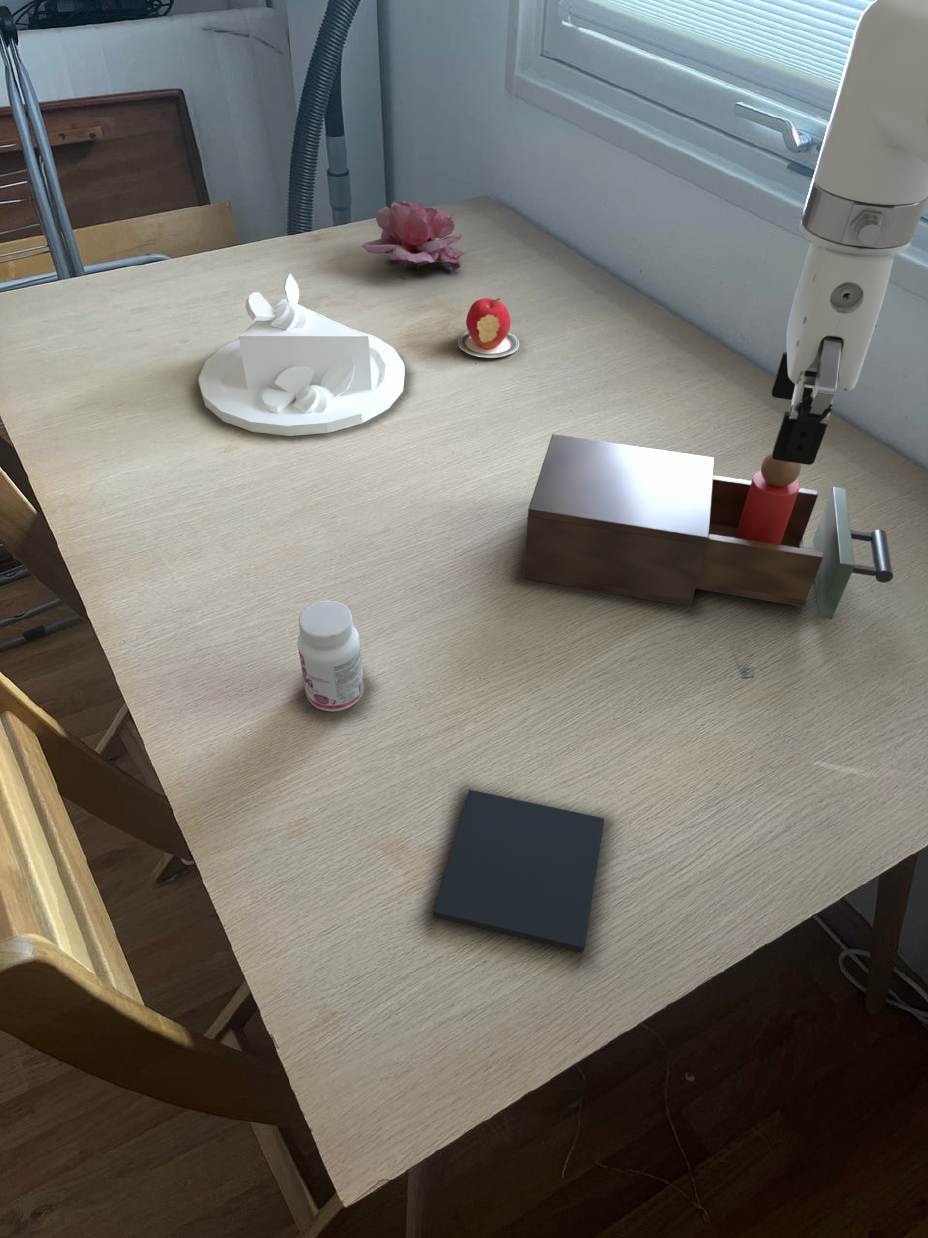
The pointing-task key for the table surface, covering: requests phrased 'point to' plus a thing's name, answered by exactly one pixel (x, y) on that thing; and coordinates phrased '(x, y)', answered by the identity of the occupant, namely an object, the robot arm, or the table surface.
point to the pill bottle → (330, 656)
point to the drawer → (787, 551)
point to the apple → (488, 330)
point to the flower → (415, 235)
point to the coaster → (522, 870)
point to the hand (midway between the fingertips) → (790, 427)
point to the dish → (299, 372)
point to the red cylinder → (769, 501)
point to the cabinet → (620, 519)
